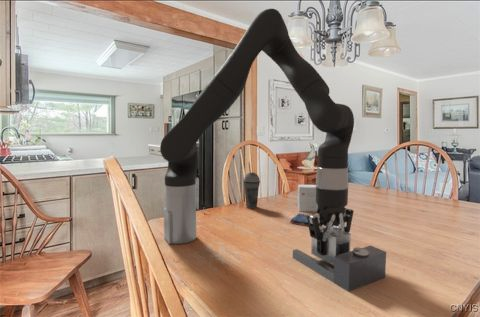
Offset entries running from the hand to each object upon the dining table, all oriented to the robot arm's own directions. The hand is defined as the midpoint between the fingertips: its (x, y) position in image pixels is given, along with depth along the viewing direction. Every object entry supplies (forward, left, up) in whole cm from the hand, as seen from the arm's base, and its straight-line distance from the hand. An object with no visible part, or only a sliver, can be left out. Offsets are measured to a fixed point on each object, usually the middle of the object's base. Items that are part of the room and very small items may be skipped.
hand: (330, 251), depth 69 cm
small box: (+29, +40, -3) cm, 49 cm away
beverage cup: (+10, +55, -3) cm, 56 cm away
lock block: (0, 0, -1) cm, 1 cm away
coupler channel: (0, -2, -3) cm, 4 cm away
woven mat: (+18, +28, -4) cm, 33 cm away
